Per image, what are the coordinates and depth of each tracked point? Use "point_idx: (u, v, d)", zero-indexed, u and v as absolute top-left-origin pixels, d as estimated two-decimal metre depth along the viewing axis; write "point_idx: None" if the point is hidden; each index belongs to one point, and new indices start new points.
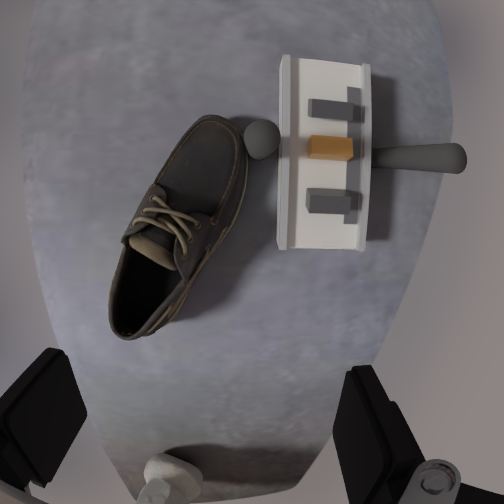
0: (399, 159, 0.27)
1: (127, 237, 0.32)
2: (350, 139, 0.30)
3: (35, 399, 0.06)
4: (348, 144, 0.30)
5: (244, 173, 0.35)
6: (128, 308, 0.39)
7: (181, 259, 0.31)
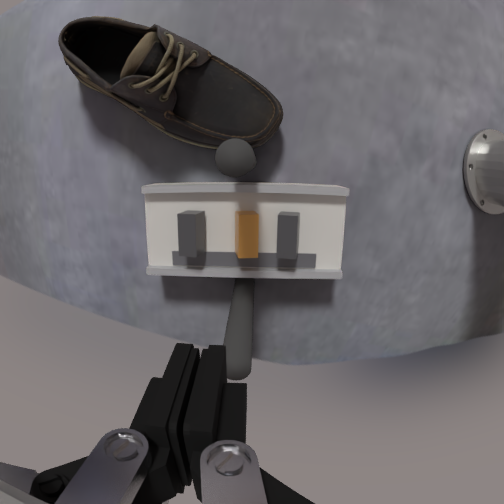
0: (237, 307, 0.30)
1: (157, 30, 0.24)
2: (256, 255, 0.32)
3: (186, 398, 0.08)
4: (250, 253, 0.32)
5: (218, 145, 0.33)
6: (92, 37, 0.28)
7: (127, 83, 0.25)
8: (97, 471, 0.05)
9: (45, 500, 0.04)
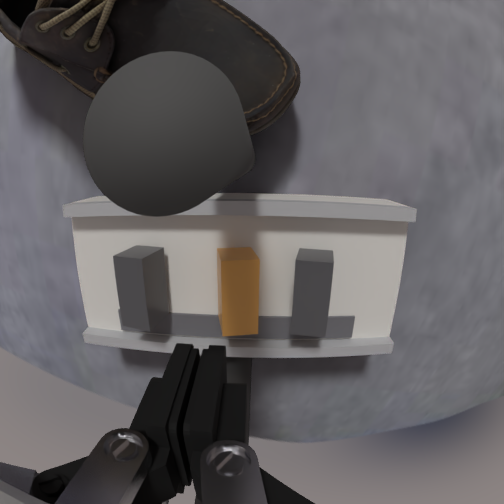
0: None
1: None
2: (255, 330, 0.17)
3: (187, 398, 0.08)
4: (244, 327, 0.17)
5: None
6: None
7: (34, 23, 0.10)
8: (97, 471, 0.05)
9: (45, 500, 0.04)
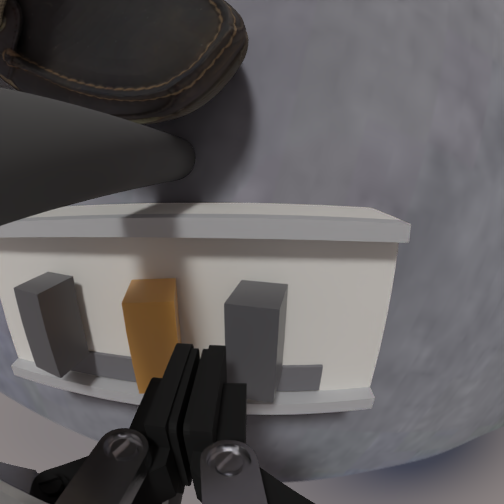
0: None
1: None
2: None
3: (187, 398, 0.08)
4: None
5: None
6: None
7: None
8: (97, 471, 0.05)
9: (45, 500, 0.04)
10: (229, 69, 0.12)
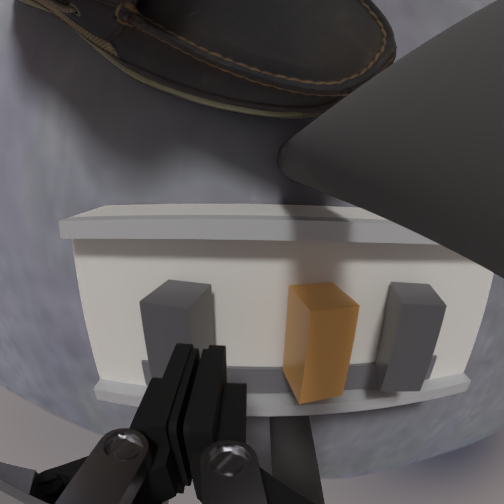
0: None
1: None
2: (339, 392, 0.12)
3: (187, 398, 0.08)
4: (328, 390, 0.12)
5: (235, 99, 0.13)
6: None
7: None
8: (97, 471, 0.05)
9: (45, 500, 0.04)
10: None
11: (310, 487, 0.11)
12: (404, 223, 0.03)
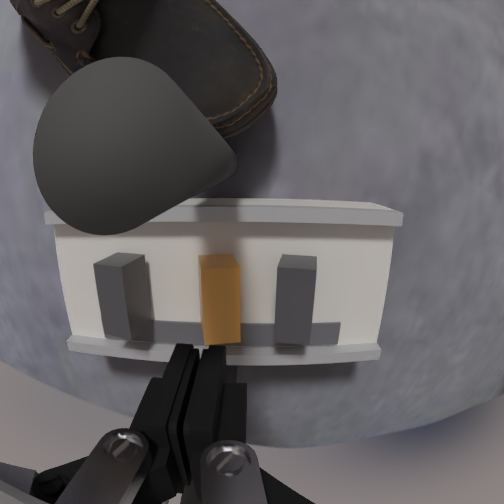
0: None
1: None
2: (237, 339, 0.17)
3: (187, 398, 0.08)
4: (226, 336, 0.17)
5: None
6: None
7: None
8: (97, 471, 0.05)
9: (45, 500, 0.04)
10: (259, 114, 0.17)
11: None
12: None
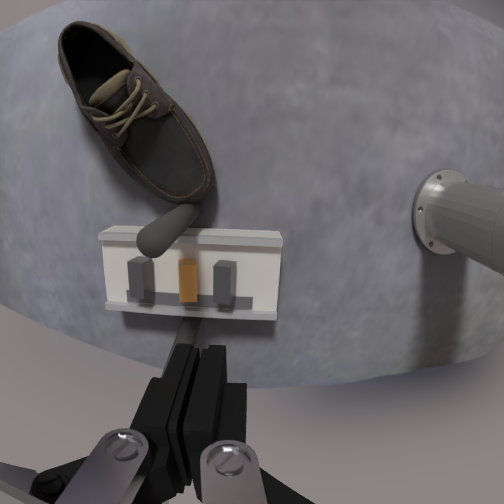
0: None
1: None
2: (195, 300, 0.35)
3: (187, 398, 0.08)
4: (190, 298, 0.35)
5: (149, 190, 0.36)
6: (94, 38, 0.29)
7: (89, 112, 0.27)
8: (97, 471, 0.05)
9: (45, 500, 0.04)
10: (202, 196, 0.35)
11: (185, 342, 0.34)
12: None
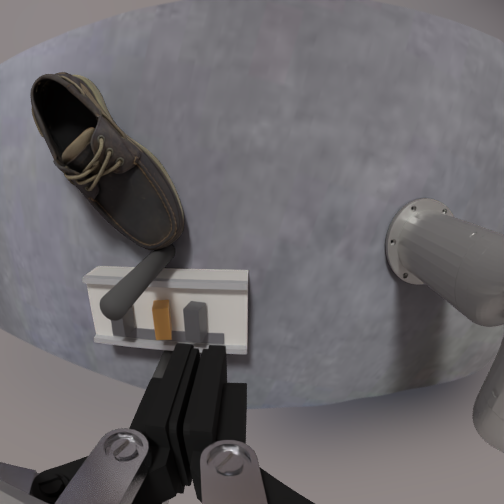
0: None
1: None
2: (169, 338, 0.37)
3: (187, 398, 0.08)
4: (165, 336, 0.37)
5: None
6: None
7: (62, 170, 0.29)
8: (97, 471, 0.05)
9: (45, 500, 0.04)
10: (172, 242, 0.38)
11: (162, 375, 0.36)
12: None
